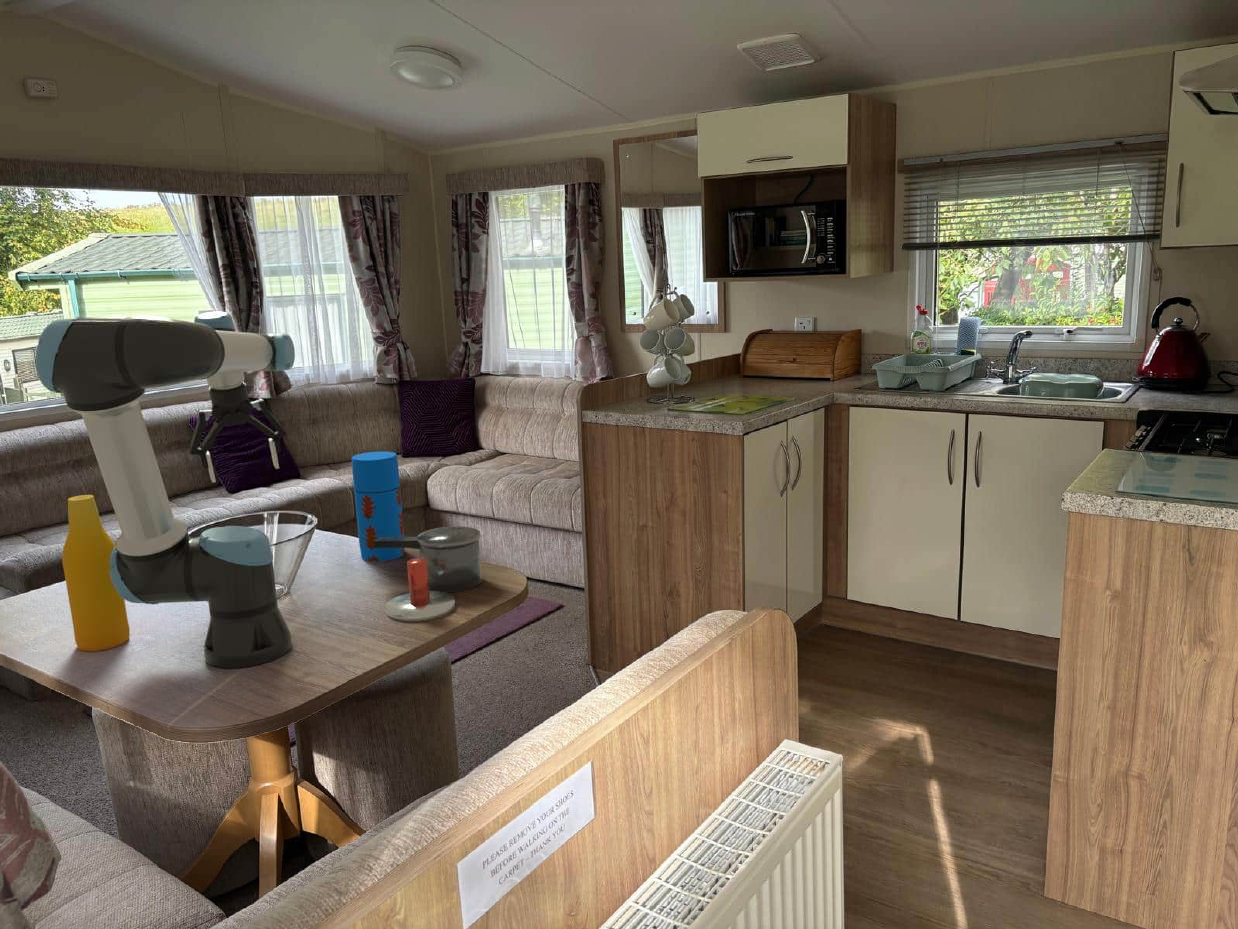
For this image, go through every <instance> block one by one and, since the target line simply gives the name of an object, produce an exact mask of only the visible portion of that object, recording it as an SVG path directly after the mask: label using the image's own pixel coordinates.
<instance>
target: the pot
mask: <svg viewBox="0 0 1238 929" xmlns="http://www.w3.org/2000/svg"><path fill="white" fill-rule="evenodd" d="M480 539H481V531H480V530H479V529H478V528H474V527H470V526H460V525H459V526H457V525H455V526H453V525H452V526H443V527H436V528H432V529H428V530H426V531H423V532H420V533H419V534H418V535H417V536H404V537H378V538H377V539H376V540H375V541H374V548H405V549H407V548H409V549H411V548H413V549H414V548H416V549H417V548H419V554H420V557H419V558H424V559H426V560H427V567H428V579H429V591H439V592H445V593H456V592H461V591H462V592H463V591H465V590H469V589H470V590H471V589H474V587H477V586H478V585H480V584H481V583H482V581H483V580H482V567H481V565H482V564H481V550H480ZM480 582H481V583H480ZM479 583H480V584H479ZM476 585H477V586H476Z"/></svg>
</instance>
